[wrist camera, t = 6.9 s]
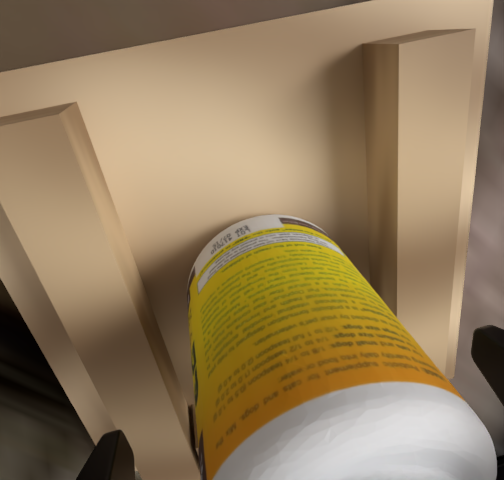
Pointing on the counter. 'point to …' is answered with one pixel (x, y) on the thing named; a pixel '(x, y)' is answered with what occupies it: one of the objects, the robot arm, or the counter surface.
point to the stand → (234, 189)
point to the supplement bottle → (315, 369)
